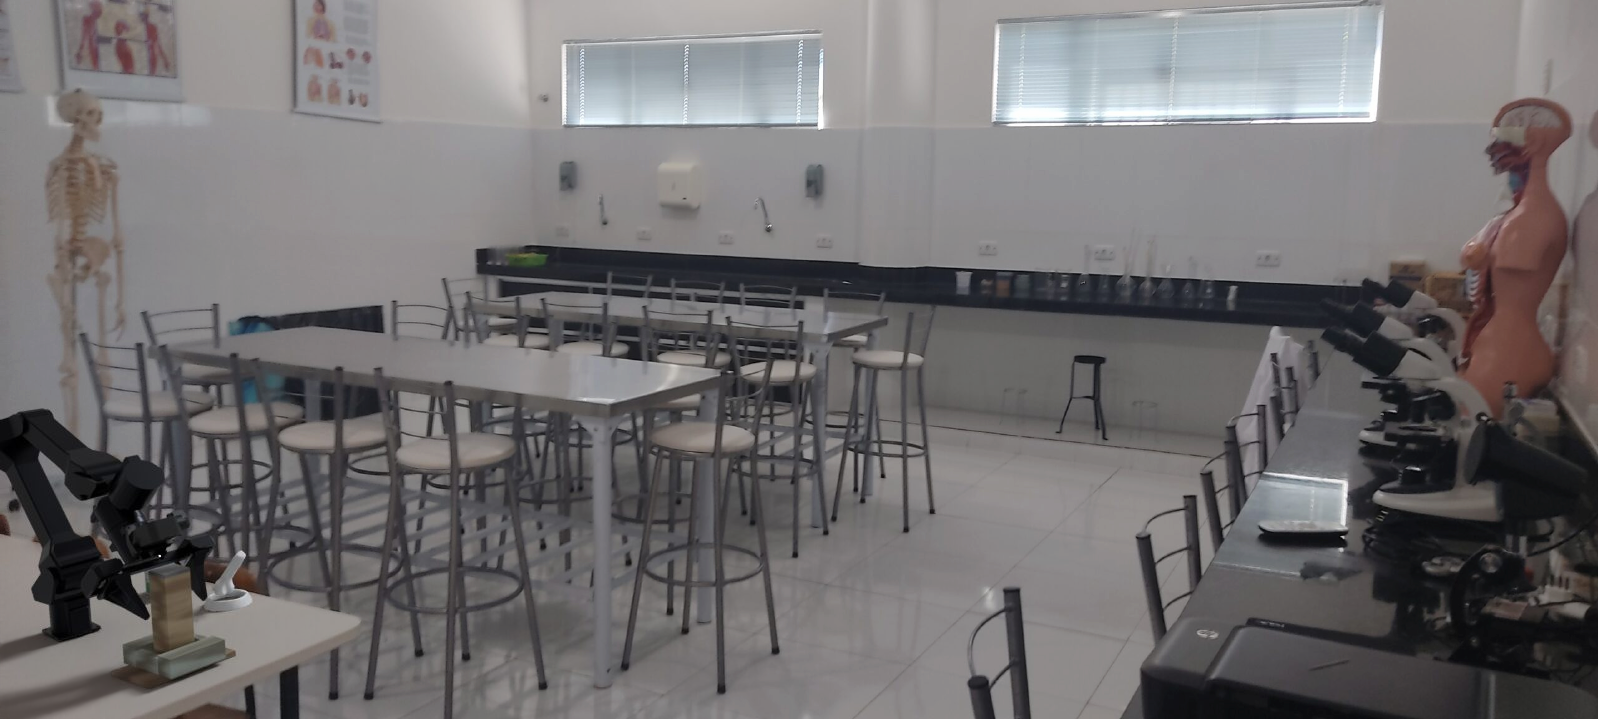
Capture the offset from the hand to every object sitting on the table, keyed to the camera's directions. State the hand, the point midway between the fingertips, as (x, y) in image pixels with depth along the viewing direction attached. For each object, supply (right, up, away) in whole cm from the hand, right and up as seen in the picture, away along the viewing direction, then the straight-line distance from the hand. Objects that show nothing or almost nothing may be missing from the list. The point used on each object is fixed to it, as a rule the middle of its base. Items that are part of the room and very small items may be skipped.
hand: (177, 608), depth 172 cm
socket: (-1, -9, +2) cm, 10 cm away
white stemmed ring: (-6, -6, +28) cm, 29 cm away
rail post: (-1, -8, +2) cm, 9 cm away
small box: (-20, -5, +33) cm, 39 cm away
